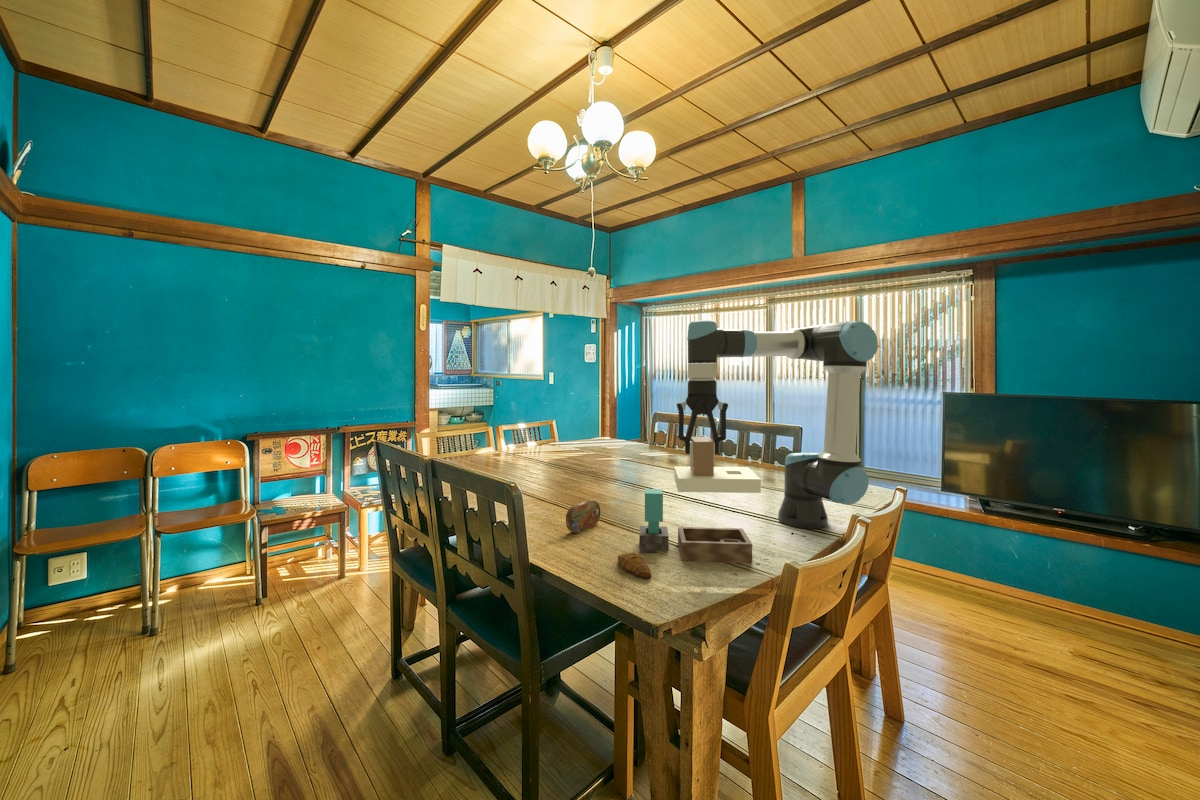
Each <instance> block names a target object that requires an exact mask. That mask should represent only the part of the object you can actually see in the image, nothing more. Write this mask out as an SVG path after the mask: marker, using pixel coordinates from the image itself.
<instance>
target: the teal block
mask: <svg viewBox="0 0 1200 800" xmlns="http://www.w3.org/2000/svg"><path fill="white" fill-rule="evenodd" d="M644 522H647V526H648V534H659V526H660V523H663V522H664V492H663V488H644Z"/></svg>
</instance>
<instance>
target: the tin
mask: <svg viewBox="0 0 1200 800" xmlns="http://www.w3.org/2000/svg"><path fill="white" fill-rule="evenodd" d="M600 518H601V506H600V504H599V502H598V501H596V500H585V501H582V502H579V503H577V504H575V505H574V504H573V506H571V507H570V508H569V509H568V510H567V512H566V515H565V524H566V528H567V530H568V531H569V532H570V533H571V532H572V533H575V534H580V533H582V532H584V531H587V530H589V529H591V528H593V527H595V526H596V525H597V524H598V522H599V520H600Z"/></svg>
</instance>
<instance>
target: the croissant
mask: <svg viewBox="0 0 1200 800" xmlns="http://www.w3.org/2000/svg"><path fill="white" fill-rule="evenodd" d="M617 562H618V565H619V567H620V568H622V570H623V571H625V572H626V573H628V574H629V575H631V576H634V577H635V578H639V579H642V580H646V581H648V580H651V578H652V572H651V569H650V566H649V564H648V562H647V561H646V560H645V558H644V557H643V555H641V553H636V552H629V553H622V554H620V555H617Z"/></svg>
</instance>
